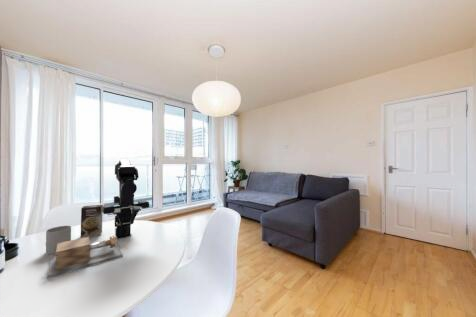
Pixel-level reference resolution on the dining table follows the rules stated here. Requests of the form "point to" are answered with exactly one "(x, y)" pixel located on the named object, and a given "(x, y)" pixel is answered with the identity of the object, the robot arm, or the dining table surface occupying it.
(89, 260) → the wooden block on base
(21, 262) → the dining table surface
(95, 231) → the coffee box
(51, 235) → the cup
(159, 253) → the dining table surface
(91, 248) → the shaft
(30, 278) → the dining table surface
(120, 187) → the robot arm
